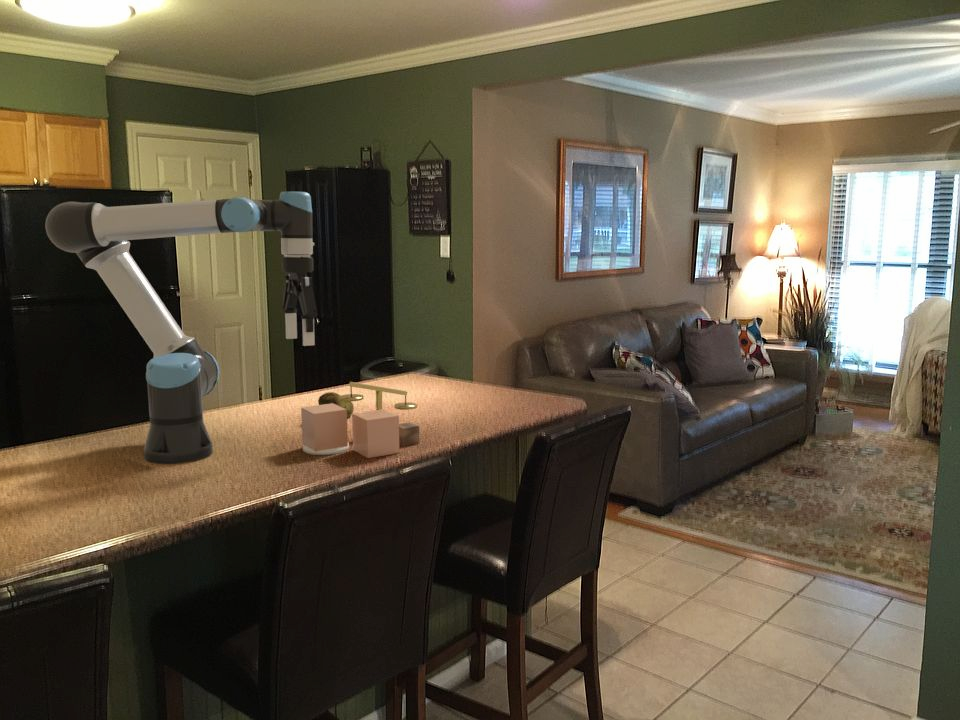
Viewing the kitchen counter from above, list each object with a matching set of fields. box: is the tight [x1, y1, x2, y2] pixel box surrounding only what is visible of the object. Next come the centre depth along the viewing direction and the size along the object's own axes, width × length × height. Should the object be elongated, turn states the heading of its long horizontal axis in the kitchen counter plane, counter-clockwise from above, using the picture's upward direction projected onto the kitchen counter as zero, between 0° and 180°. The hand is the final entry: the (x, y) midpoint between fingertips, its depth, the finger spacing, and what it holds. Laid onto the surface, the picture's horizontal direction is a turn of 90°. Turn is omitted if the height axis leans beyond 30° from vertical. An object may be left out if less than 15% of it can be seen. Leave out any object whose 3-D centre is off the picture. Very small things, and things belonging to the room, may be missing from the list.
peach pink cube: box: [300, 403, 349, 451], centre depth 194 cm, size 8×8×9 cm
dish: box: [302, 442, 350, 456], centre depth 195 cm, size 11×11×1 cm
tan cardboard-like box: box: [351, 408, 400, 459], centre depth 192 cm, size 8×8×9 cm
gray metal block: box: [399, 422, 420, 447], centre depth 200 cm, size 4×4×4 cm
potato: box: [317, 391, 354, 418], centre depth 225 cm, size 8×13×8 cm, turn 139°
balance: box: [339, 381, 418, 411], centre depth 207 cm, size 21×6×15 cm, turn 124°
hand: (299, 342), depth 201 cm, fingers open, 13 cm apart
